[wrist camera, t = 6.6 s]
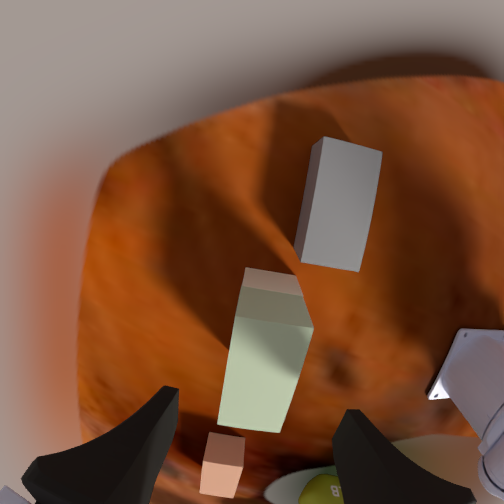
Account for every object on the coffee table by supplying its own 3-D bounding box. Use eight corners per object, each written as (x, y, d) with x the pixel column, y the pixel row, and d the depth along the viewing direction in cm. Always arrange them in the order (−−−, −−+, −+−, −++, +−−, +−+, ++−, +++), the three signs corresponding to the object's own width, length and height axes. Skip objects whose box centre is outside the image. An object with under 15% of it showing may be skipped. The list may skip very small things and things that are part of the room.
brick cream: (295, 275, 20) (303, 295, 16) (275, 358, 22) (278, 390, 18) (245, 266, 20) (241, 285, 16) (231, 352, 22) (226, 382, 18)
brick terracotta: (245, 436, 24) (242, 467, 20) (235, 471, 26) (233, 498, 22) (209, 430, 24) (203, 460, 20) (204, 466, 25) (199, 493, 22)
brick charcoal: (360, 157, 18) (382, 152, 14) (341, 256, 20) (358, 272, 16) (311, 146, 18) (323, 136, 14) (293, 247, 20) (300, 261, 16)
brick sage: (302, 296, 16) (313, 328, 12) (276, 390, 18) (279, 432, 14) (241, 285, 16) (234, 315, 12) (224, 382, 18) (217, 424, 14)
